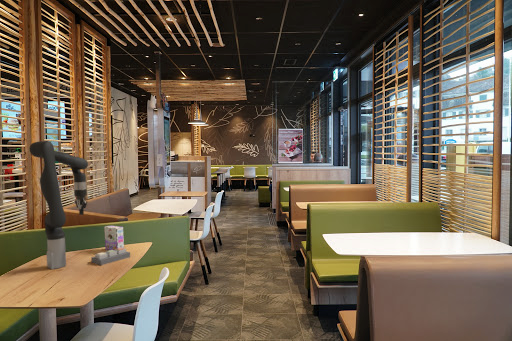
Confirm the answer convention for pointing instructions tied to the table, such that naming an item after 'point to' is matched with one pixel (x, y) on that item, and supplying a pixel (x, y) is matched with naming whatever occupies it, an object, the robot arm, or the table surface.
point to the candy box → (113, 237)
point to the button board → (110, 257)
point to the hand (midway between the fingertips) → (81, 214)
